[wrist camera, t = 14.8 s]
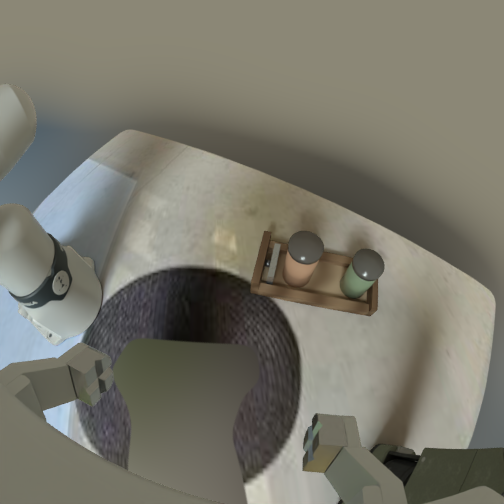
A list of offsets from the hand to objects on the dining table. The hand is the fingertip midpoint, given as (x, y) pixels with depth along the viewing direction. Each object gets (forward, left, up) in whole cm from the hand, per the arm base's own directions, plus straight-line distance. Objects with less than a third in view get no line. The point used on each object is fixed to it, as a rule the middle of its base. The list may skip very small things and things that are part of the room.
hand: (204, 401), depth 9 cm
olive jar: (+15, +23, -31) cm, 42 cm away
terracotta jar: (+5, +23, -31) cm, 39 cm away
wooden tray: (+8, +23, -31) cm, 40 cm away
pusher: (0, +23, -31) cm, 39 cm away
